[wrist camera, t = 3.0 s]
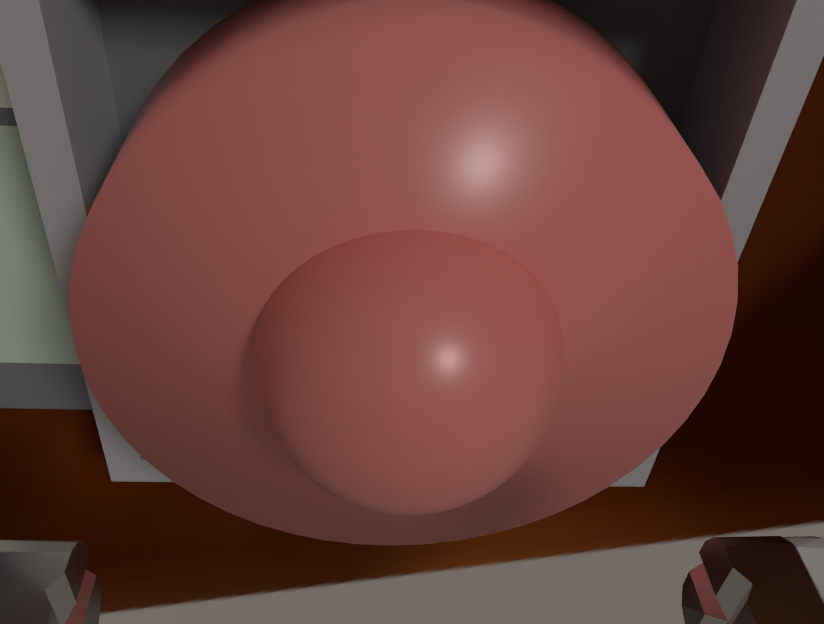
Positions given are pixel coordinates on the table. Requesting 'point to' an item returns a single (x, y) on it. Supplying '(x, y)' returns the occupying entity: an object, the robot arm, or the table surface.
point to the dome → (401, 269)
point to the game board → (211, 3)
